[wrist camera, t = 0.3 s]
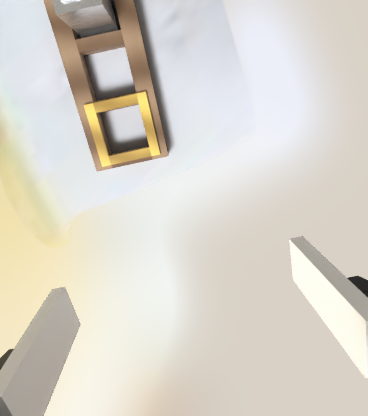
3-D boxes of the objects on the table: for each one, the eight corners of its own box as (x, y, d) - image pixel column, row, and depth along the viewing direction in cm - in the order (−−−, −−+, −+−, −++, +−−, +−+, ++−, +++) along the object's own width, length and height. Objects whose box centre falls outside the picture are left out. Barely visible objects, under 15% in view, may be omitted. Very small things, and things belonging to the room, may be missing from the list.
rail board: (41, -22, 33) (32, -32, 31) (124, -41, 33) (121, -52, 31) (100, 168, 41) (96, 172, 39) (168, 153, 41) (168, 156, 38)
